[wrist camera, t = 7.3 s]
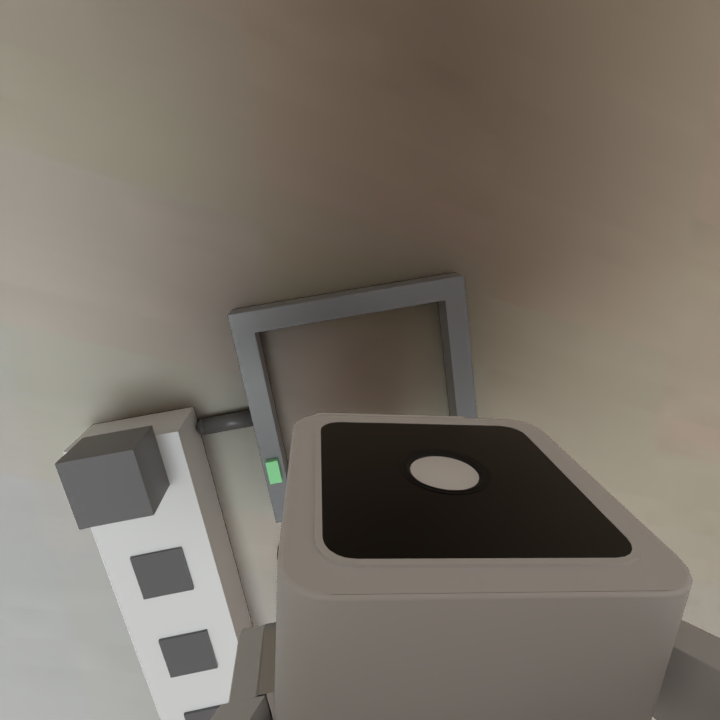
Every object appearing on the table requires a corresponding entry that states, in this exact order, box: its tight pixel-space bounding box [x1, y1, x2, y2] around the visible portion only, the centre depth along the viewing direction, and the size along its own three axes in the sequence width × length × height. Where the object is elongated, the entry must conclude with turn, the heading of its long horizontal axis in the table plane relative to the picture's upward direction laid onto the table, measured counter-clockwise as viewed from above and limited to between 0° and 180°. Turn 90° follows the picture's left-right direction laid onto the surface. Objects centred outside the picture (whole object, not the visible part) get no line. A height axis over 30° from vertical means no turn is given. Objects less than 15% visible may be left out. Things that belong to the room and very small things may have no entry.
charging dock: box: [228, 273, 477, 523], centre depth 24 cm, size 11×11×2 cm
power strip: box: [55, 407, 253, 720], centre depth 25 cm, size 22×9×5 cm, turn 9°
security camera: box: [274, 413, 693, 720], centre depth 12 cm, size 6×7×10 cm
